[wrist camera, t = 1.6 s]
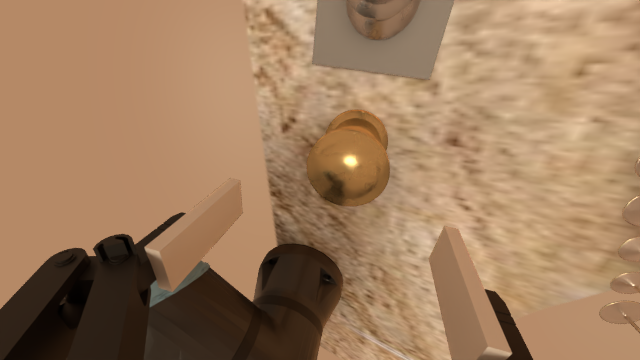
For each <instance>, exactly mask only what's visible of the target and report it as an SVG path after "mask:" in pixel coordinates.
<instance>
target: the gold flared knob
mask: <svg viewBox="0 0 640 360" xmlns="http://www.w3.org/2000/svg"><path fill="white" fill-rule="evenodd" d="M387 144H388V138H387V132H386V129H385V127H384V125H383V123H382V122H381V121H380V119H379V118H378V117H376V116H375V115H374V114H372V113H370V112H367V111H364V110H350V111H346V112H344V113H342V114H340V115H338V116H337V117H336V118H335V119H334V120H333V121H332V122H331V124H330V125H329V127H328V129H327V131H326V134H325V135H324V136H323V137H321V138H320V139H319V140H318V141H317V142H316V144H315V145H314V146H313V148H312V149H311V151H310V153H309V156H308V159H307V174H308V178H309V180H310V183H311V184H312V186H313V188H314V189H315V190H316V191H317V193H318V194H319V195H321V196H322V197H323V198H325V199H326V200H328V201H330V202H332V203H334V204H337V205H341V206H359V205H363V204H366V203H368V202H371V201H372V200H374V199H375V198H377V197H378V196H379V195H380V194H381V193H382V191H383V190H384V189H385V187H386V185H387V183H388V180H389V174H390V167H389V159H388V156H387V153H386V149H387Z"/></svg>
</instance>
